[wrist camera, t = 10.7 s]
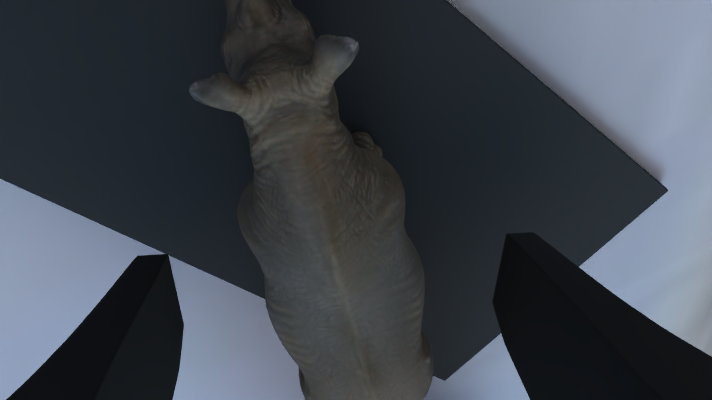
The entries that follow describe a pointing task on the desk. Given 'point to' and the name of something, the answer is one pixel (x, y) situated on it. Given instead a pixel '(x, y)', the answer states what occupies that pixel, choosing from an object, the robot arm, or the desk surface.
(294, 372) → the desk surface
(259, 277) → the back mat
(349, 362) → the rhino figurine
